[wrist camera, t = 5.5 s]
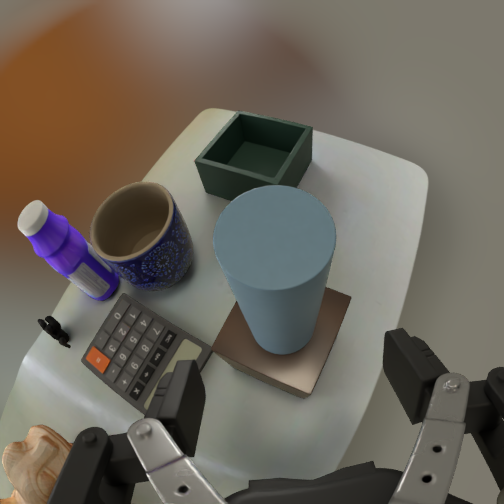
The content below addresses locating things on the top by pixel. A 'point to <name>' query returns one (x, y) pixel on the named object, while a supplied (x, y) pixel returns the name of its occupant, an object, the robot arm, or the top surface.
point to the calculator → (139, 351)
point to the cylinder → (276, 262)
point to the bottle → (67, 251)
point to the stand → (288, 365)
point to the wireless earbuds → (54, 330)
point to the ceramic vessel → (35, 465)
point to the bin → (254, 155)
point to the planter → (143, 236)
